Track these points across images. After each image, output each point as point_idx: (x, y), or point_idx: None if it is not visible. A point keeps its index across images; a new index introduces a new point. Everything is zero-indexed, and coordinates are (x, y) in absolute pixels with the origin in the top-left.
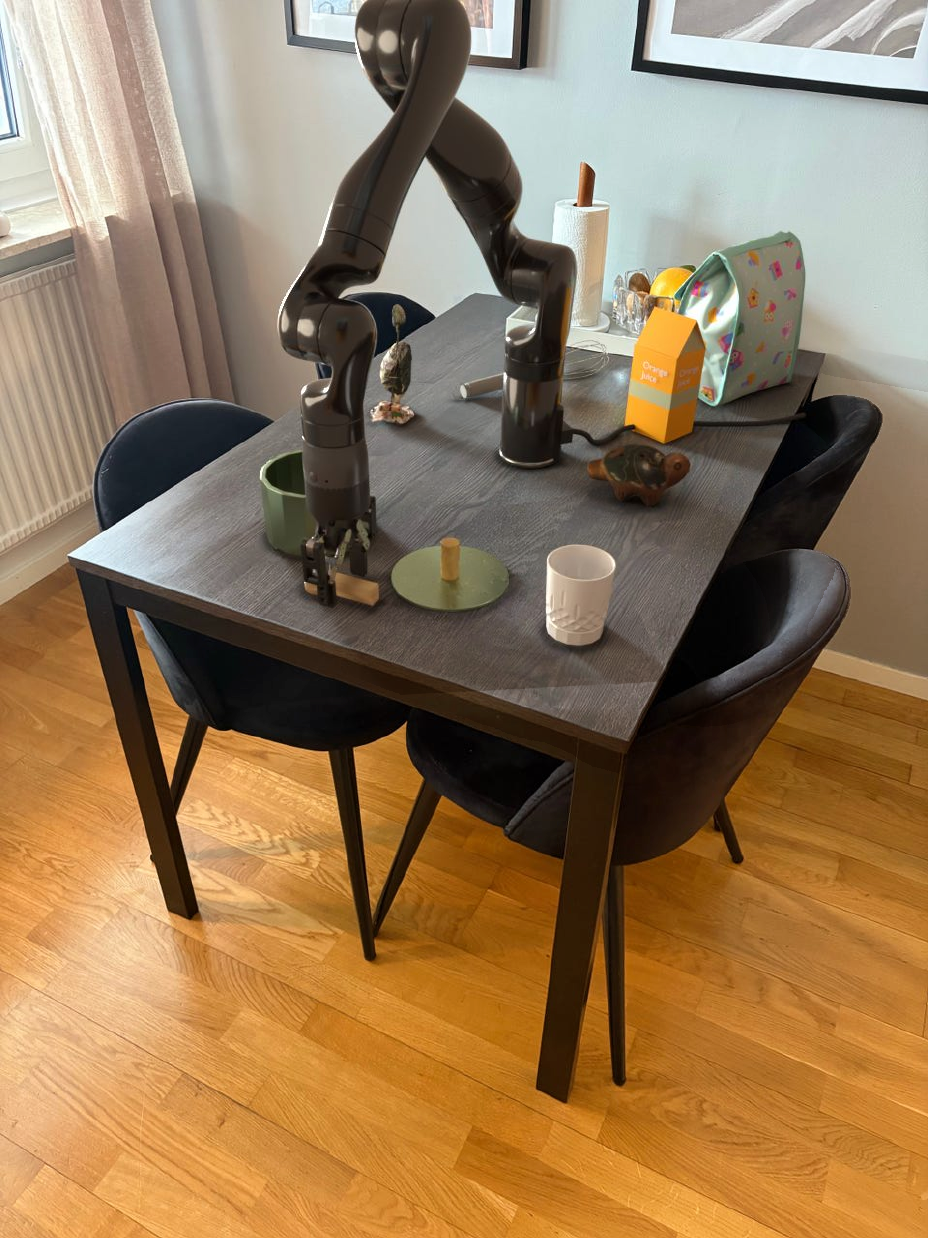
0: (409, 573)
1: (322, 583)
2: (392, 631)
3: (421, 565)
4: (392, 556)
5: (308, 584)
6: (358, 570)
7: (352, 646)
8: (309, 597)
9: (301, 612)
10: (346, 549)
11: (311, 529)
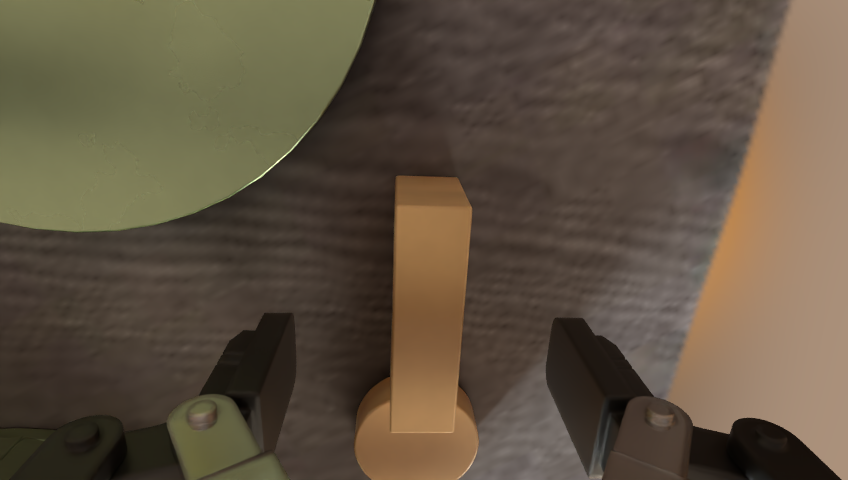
0: (136, 126)
1: (792, 442)
2: (594, 7)
3: (21, 99)
4: (20, 288)
5: (450, 471)
6: (288, 355)
7: (745, 132)
8: None
9: None
10: None
11: None
